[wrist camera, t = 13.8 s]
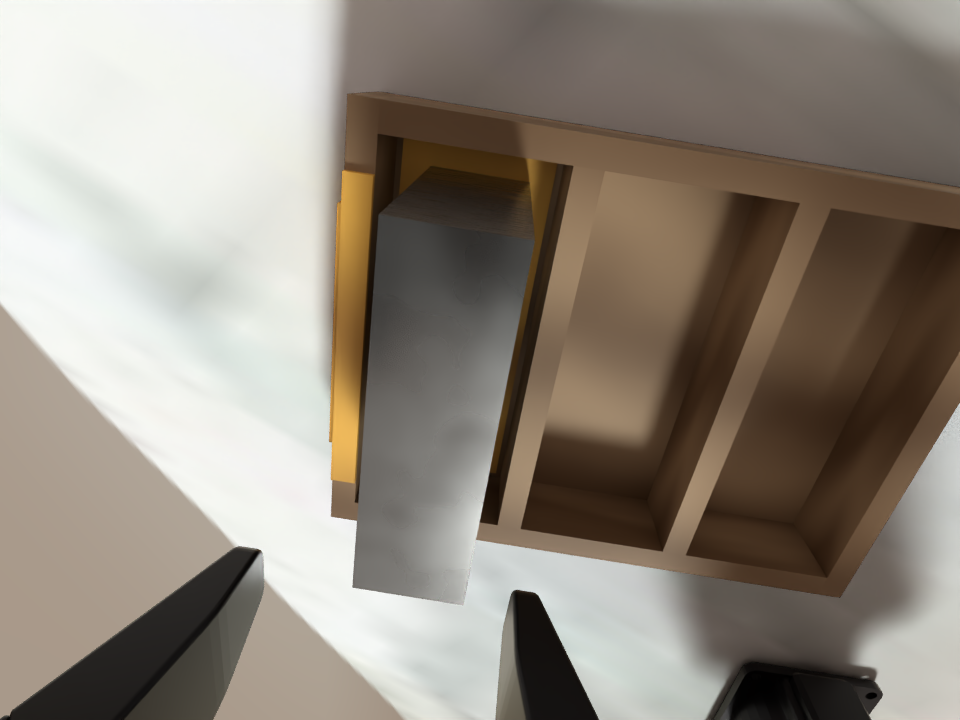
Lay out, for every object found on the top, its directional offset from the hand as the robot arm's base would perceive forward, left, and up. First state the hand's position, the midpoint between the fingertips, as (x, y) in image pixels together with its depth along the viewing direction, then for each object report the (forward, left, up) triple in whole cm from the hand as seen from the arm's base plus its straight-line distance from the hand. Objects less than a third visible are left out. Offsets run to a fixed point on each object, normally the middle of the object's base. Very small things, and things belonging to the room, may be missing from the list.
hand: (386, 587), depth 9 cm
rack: (0, -6, -12) cm, 13 cm away
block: (0, 0, -11) cm, 11 cm away
